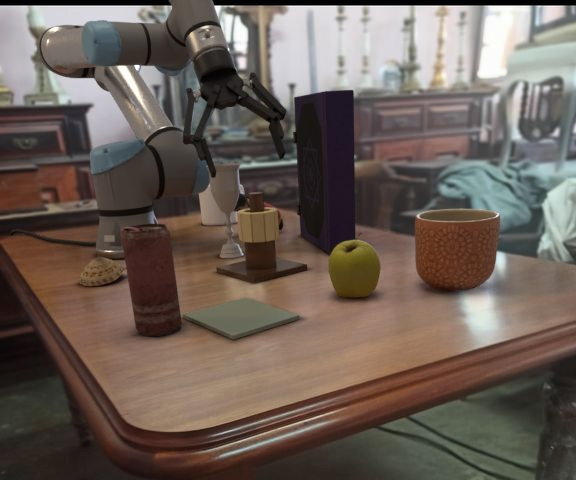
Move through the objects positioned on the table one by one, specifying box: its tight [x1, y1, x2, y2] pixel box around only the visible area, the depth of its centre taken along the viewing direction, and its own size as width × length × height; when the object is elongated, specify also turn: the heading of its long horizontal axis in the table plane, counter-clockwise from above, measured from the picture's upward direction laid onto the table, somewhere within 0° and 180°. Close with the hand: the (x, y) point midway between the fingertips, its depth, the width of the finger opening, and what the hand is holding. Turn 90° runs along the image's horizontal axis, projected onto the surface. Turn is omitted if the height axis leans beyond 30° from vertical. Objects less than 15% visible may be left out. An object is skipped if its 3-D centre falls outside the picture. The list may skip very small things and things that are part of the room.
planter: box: [414, 208, 501, 292], centre depth 90 cm, size 12×12×11 cm
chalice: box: [206, 162, 245, 259], centre depth 119 cm, size 7×7×18 cm
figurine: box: [234, 193, 284, 231], centre depth 140 cm, size 10×10×15 cm
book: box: [292, 89, 357, 256], centre depth 123 cm, size 24×6×30 cm, turn 14°
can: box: [121, 223, 182, 337], centre depth 78 cm, size 6×6×14 cm
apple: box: [327, 232, 381, 299], centre depth 88 cm, size 8×8×10 cm
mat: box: [182, 297, 300, 341], centre depth 83 cm, size 13×11×1 cm
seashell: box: [78, 256, 127, 287], centre depth 108 cm, size 8×6×8 cm
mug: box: [198, 183, 245, 227], centre depth 161 cm, size 13×10×10 cm
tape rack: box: [215, 191, 308, 284], centre depth 105 cm, size 12×12×14 cm
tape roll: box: [237, 207, 280, 243], centre depth 105 cm, size 7×7×5 cm
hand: (248, 165), depth 110 cm, fingers open, 13 cm apart
